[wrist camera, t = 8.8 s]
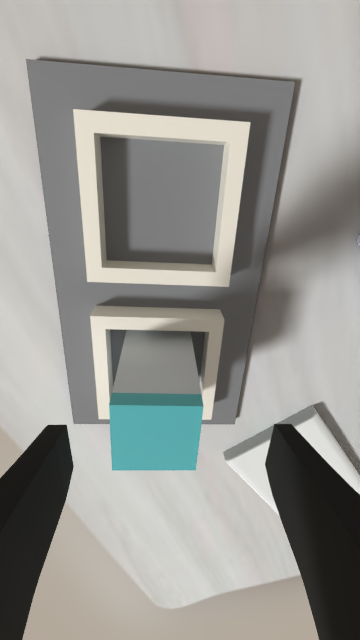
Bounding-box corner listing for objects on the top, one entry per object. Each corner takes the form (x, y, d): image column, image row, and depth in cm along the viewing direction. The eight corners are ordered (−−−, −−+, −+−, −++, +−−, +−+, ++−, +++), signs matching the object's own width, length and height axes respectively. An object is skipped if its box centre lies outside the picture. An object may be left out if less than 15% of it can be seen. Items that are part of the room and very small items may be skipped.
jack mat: (233, 419, 23) (234, 424, 23) (75, 418, 23) (73, 423, 22) (291, 84, 14) (295, 81, 14) (30, 62, 13) (26, 59, 13)
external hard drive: (309, 399, 24) (364, 481, 28) (221, 446, 25) (287, 515, 30) (318, 414, 22) (375, 497, 27) (225, 463, 24) (293, 533, 29)
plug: (185, 381, 21) (195, 470, 15) (127, 380, 21) (112, 470, 14) (190, 330, 19) (203, 406, 13) (127, 328, 19) (109, 405, 13)
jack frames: (208, 404, 22) (211, 419, 21) (102, 403, 21) (98, 419, 20) (242, 127, 15) (250, 121, 13) (81, 115, 14) (73, 109, 13)
